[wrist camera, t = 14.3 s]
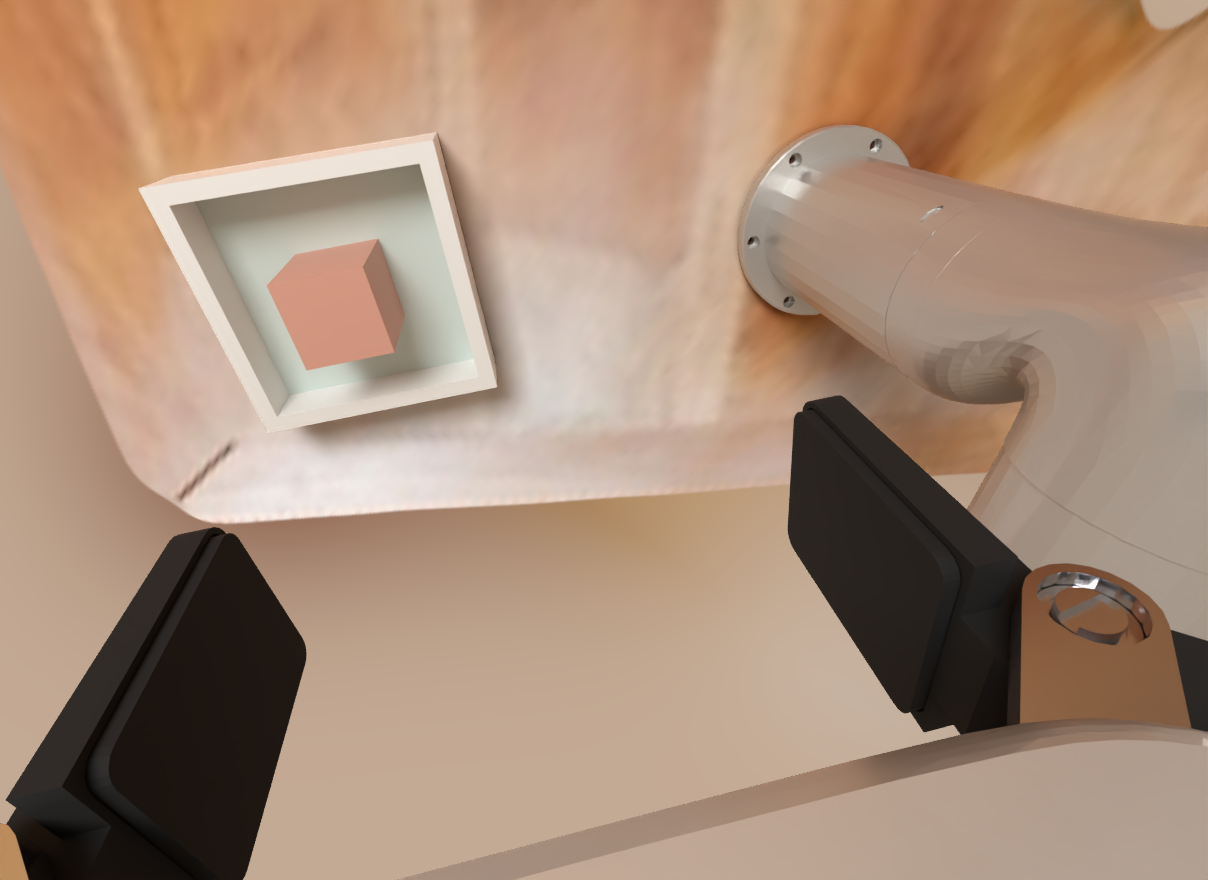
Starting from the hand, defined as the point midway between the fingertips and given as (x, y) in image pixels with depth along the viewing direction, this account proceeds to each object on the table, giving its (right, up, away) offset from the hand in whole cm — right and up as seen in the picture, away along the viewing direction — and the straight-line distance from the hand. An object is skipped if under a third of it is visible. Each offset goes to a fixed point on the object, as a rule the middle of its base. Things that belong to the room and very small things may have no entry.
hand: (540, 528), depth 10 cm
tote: (-15, +12, +28) cm, 34 cm away
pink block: (-15, +11, +27) cm, 33 cm away
